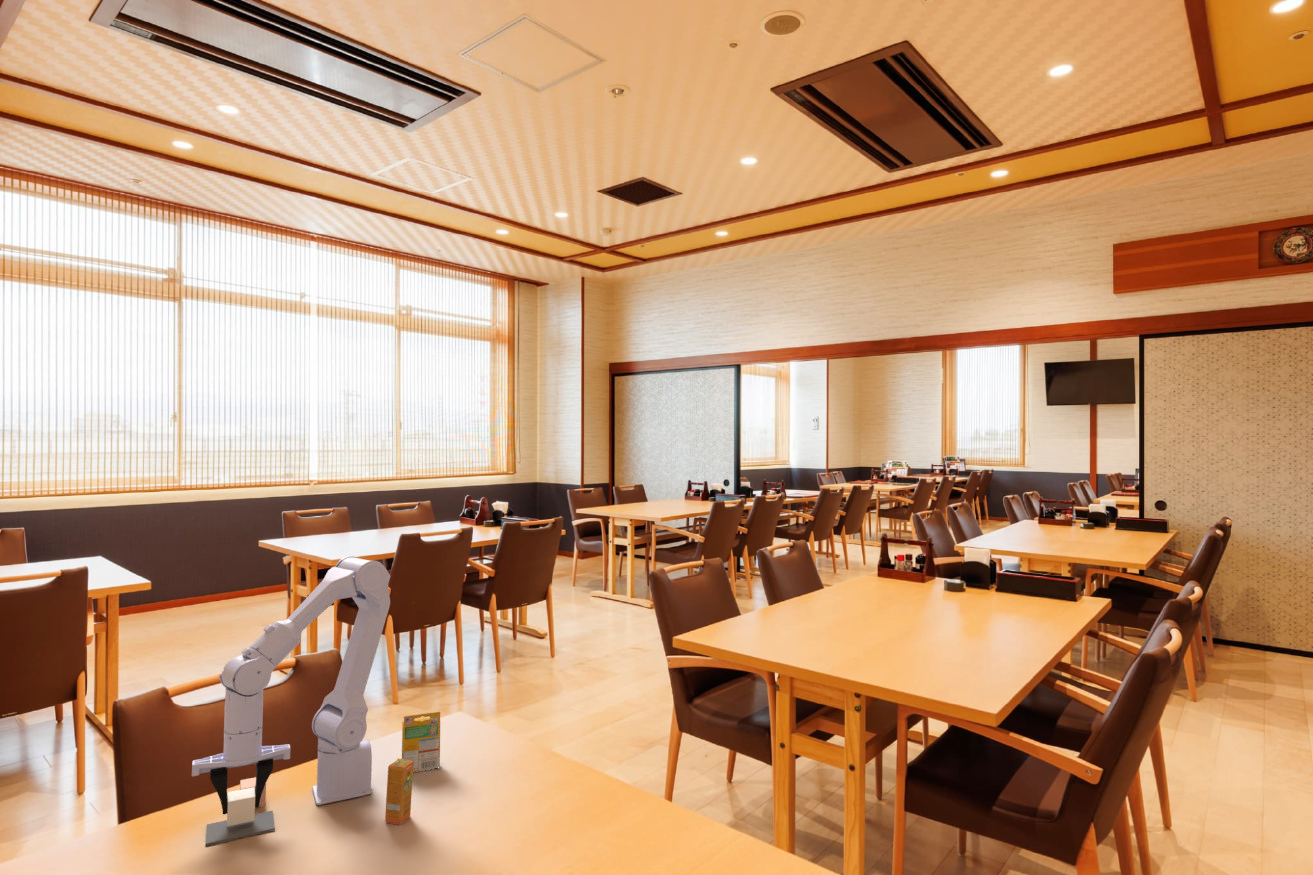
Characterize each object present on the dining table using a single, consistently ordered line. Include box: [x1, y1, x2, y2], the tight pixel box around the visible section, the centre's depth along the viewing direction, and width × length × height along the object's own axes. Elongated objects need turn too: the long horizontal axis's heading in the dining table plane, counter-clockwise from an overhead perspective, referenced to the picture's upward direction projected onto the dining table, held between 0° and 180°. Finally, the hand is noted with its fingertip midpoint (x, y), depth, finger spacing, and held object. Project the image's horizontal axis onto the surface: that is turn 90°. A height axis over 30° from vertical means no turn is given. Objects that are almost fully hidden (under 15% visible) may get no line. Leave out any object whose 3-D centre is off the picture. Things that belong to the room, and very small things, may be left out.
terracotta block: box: [239, 776, 267, 809], centre depth 131 cm, size 4×4×4 cm
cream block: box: [226, 787, 256, 826], centre depth 123 cm, size 4×4×4 cm
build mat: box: [205, 810, 276, 847], centre depth 122 cm, size 10×7×1 cm
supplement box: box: [384, 758, 414, 826], centre depth 126 cm, size 3×3×10 cm
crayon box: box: [401, 711, 441, 773], centre depth 147 cm, size 7×3×12 cm, turn 114°
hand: (241, 808), depth 123 cm, fingers closed on cream block, 4 cm apart
